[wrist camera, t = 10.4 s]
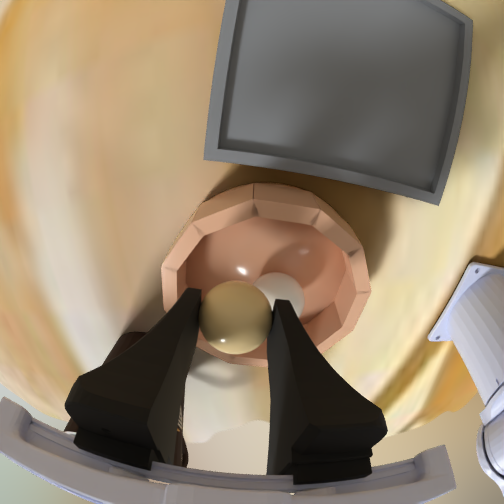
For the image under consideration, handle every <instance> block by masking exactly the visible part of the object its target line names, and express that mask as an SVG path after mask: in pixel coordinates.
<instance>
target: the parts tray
mask: <svg viewBox="0 0 504 504" xmlns="http://www.w3.org/2000/svg"><path fill="white" fill-rule="evenodd" d="M472 33H473V20H471V19H470V18H468V17H467V16H465V15H464V14H462V13H461V12H459V11H457V10H456V9H454V8H453V7H451V6H449V5H448V4H446V3H444V2H443V1H441V0H226V3H225V8H224V13H223V19H222V24H221V30H220V36H219V42H218V48H217V54H216V61H215V67H214V74H213V82H212V89H211V97H210V104H209V113H208V121H207V130H206V139H205V149H204V160H210V161H219V162H227V163H236V164H243V165H251V166H258V167H265V168H271V169H278V170H284V171H290V172H296V173H302V174H307V175H313V176H318V177H323V178H328V179H333V180H338V181H343V182H348V183H352V184H357V185H361V186H366V187H370V188H374V189H378V190H382V191H386V192H390V193H394V194H398V195H402V196H406V197H410V198H413V199H417V200H420V201H424V202H427V203H431V204H434V205H438V206H439V204H440V201H441V198H442V195H443V192H444V188H445V185H446V182H447V179H448V175H449V172H450V168H451V165H452V161H453V158H454V154H455V150H456V146H457V142H458V137H459V133H460V128H461V124H462V119H463V113H464V108H465V102H466V96H467V89H468V82H469V74H470V64H471V52H472Z"/></svg>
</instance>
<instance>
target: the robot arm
mask: <svg viewBox="0 0 504 504" xmlns="http://www.w3.org/2000/svg"><path fill="white" fill-rule="evenodd" d="M201 294H202V289H196V288H189V287H188V288H186V289H185V291H184V292H183V294H182V295H181V296H180V298H179V299H178V300H177V301H176V303H175V304H174V305H173V306H172V308H171V309H170V310H169V311H168V312H167V313H166V315H165V316H164V317H163V318H162V319H161V320H160V321H159V322H158V323H157V324H156V325H155V326H154V327H153V328H152V329H151V330H150V331H149V332H148V333H147V334H146V335H145V336H143V337H142V338H141V339H140V340H139V341H137V342H136V343H135V344H134V345H132V346H131V347H130V348H128V349H127V350H126V351H124V352H123V353H121V354H120V355H118V356H117V357H115V358H113V359H112V360H110V361H108V362H107V363H105V364H103V365H102V366H100V367H98V368H96V369H94V370H92V371H90V372H87V373H85V374H83V375H81V376H79V377H78V378H77V380H76V382H75V383H74V385H73V387H72V388H71V391H70V393H69V395H68V397H67V400H66V402H65V409H66V411H67V413H68V414H69V415H70V417H71V418H72V419H73V420H74V422H75V423H76V424H77V425H78V430H77V432H76V435H75V437H74V436H72V435H70V434H67V433H65V432H62V431H60V430H58V429H56V428H53V427H51V426H49V425H47V424H45V423H43V422H40V421H39V420H37V419H35V418H33V417H32V416H31V414H30V413H29V412H28V411H27V410H26V409H24V408H23V407H22V406H20V405H18V404H17V403H15V402H13V401H11V400H10V399H8V398H6V397H3V398H2V400H1V402H0V453H2V454H3V455H5V456H6V457H7V458H9V459H10V460H11V461H13V462H14V463H16V464H18V465H19V466H21V467H22V468H24V469H26V470H27V471H29V472H31V473H33V474H35V475H36V476H38V477H40V478H42V479H43V480H45V481H47V482H49V483H51V484H53V485H55V486H57V487H59V488H61V489H63V490H65V491H67V492H70V493H72V494H74V495H76V496H78V497H81V498H83V499H86V500H88V501H90V502H93V503H96V504H424V503H426V502H428V501H431V500H433V499H435V498H437V497H440V496H442V495H444V494H446V493H448V492H450V491H452V490H454V489H456V483H455V479H454V475H453V471H452V467H451V464H450V460H449V457H448V453H447V450H446V447H445V445H440V446H437V447H434V448H431V449H427V450H425V451H423V452H421V453H419V454H417V455H416V456H415V457H414V458H411V459H407V460H403V461H399V462H395V463H390V464H385V465H380V466H375V467H371V463H370V457H371V456H372V455H373V453H372V449H371V448H372V447H373V446H374V445H375V444H377V443H378V442H379V441H380V440H382V438H383V437H384V436H385V435H386V434H387V431H388V430H387V426H386V421H385V418H384V415H383V413H382V410H381V409H380V408H379V407H377V406H376V405H375V404H373V403H372V402H370V401H369V400H367V399H366V398H365V397H363V396H362V395H361V394H360V393H358V392H357V391H356V390H355V389H354V388H352V387H351V386H350V385H349V384H348V383H347V382H346V381H345V380H344V379H343V378H342V377H341V376H340V375H339V374H338V373H337V372H336V371H335V370H334V369H333V368H332V367H331V365H330V364H329V363H328V362H327V361H326V359H325V358H324V357H323V356H322V354H321V353H320V352H319V350H318V349H317V347H316V346H315V344H314V343H313V341H312V340H311V338H310V337H309V335H308V333H307V332H306V330H305V328H304V327H303V325H302V323H301V321H300V320H299V318H298V316H297V314H296V312H295V310H294V308H293V306H292V304H291V302H290V301H289V300H283V299H275V302H274V306H273V310H272V313H273V322H272V327H271V330H270V333H269V335H268V337H267V361H268V373H269V384H270V398H271V405H270V434H269V450H268V463H267V474H266V475H249V474H248V475H247V474H234V473H222V472H213V471H205V470H198V469H191V468H185V467H179V466H174V465H173V463H174V453H175V444H176V436H177V428H178V421H179V414H180V408H181V402H182V396H183V390H184V386H185V382H186V378H187V375H188V371H189V368H190V364H191V361H192V358H193V354H194V351H195V347H196V344H197V339H198V334H199V328H200V326H199V320H198V316H199V309H200V305H201ZM428 339H429V341H453V342H454V344H455V346H456V348H457V350H458V352H459V353H460V355H461V357H462V359H463V361H464V363H465V365H466V367H467V369H468V371H469V373H470V375H471V377H472V379H473V381H474V383H475V385H476V387H477V389H478V391H479V394H480V396H481V398H482V400H483V402H484V405H485V407H486V408H485V409H484V410H483V411H482V412H481V413H480V417H481V419H482V424H481V425H480V427H479V430H478V433H477V445H476V448H477V456H478V460H479V463H480V465H481V467H482V469H483V471H484V472H485V473H486V474H487V475H488V476H489V477H490V478H491V479H493V480H494V481H495V482H496V483H497V484H498V486H499V487H500V489H501V491H502V493H503V496H504V268H502V267H497V266H492V265H487V264H482V263H477V262H472V263H470V264H469V265H468V267H467V269H466V271H465V273H464V275H463V277H462V279H461V281H460V283H459V285H458V286H457V288H456V290H455V292H454V294H453V296H452V297H451V299H450V301H449V303H448V304H447V306H446V308H445V309H444V311H443V313H442V315H441V316H440V318H439V319H438V321H437V323H436V324H435V326H434V327H433V329H432V330H431V332H430V334H429V335H428ZM147 478H148V479H153V480H157V481H162V482H166V483H171V484H169V485H167V484H160V483H154V482H149V480H148V479H147ZM289 493H295V494H294V495H290V494H289Z"/></svg>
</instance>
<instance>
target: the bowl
mask: <svg viewBox="0 0 504 504" xmlns="http://www.w3.org/2000/svg"><path fill="white" fill-rule="evenodd" d="M161 271H162V290H163V305H164V310H165V312H166V313H167V312H168V311H169V310H170V309H171V308H172V306H173V305H174V304H175V303H176V301H177V300H178V299H179V298H180V296H181V295H182V294H183V292H184V291H185V289H186V288H188V287H189V288H196V289H202V294H201V302H202V300H203V299H204V297H205V295H206V294H207V293H208V292H209V291H210V290H211V289H212V288H214V287H215V286H217V285H219V284H221V283H223V282H227V281H244V282H247V283H250V284H253V283H254V282H255V281H256V280H257V279H258V278H259V277H261V276H262V275H265V274H267V273H271V272H281V273H285V274H288V275H290V276H291V277H293V278H294V279H295V280H296V281H297V282H298V283H299V284H300V286H301V287H302V290H303V292H304V297H305V304H304V309H303V312H302V314H301V316H300V317H299V320H300V321H301V323H302V325H303V327H304V328H305V330H306V332H307V333H308V335H309V337H310V338H311V340H312V341H313V343H314V344H315V346H316V347H317V349H318V350H319V352H320V353H321V354H322V353H323V352H325V351H326V350H327V349H329V348H330V347H332V346H333V345H334V344H336V343H337V342H338V341H340V340H341V339H342V338H344V337H345V336H346V335H348V334H349V333H350V332H351V331H353V329H354V327H355V325H356V323H357V321H358V319H359V317H360V315H361V313H362V311H363V309H364V307H365V305H366V302H367V300H368V298H369V296H370V294H371V286H370V280H369V275H368V269H367V264H366V259H365V254H364V249H363V246H362V245H361V243H360V241H359V240H358V238H357V236H356V235H355V233H354V231H353V230H352V228H351V227H350V225H349V224H348V223H347V222H346V221H345V220H343V219H342V218H341V217H340V216H339V215H338V213H337V212H336V211H335V210H334V209H333V208H332V207H331V206H330V205H329V204H327V203H326V202H325V201H323V200H322V199H321V198H319V197H317V196H316V195H315V194H314V193H312V192H310V191H306V190H303V189H301V188H298V187H295V186H291V185H286V184H281V183H270V182H264V183H251V184H246V185H240V186H237V187H234V188H231V189H228V190H226V191H224V192H222V193H219V194H217V195H216V196H214V197H212V198H211V199H209V200H208V201H206V202H203V203H201V204H200V206H199V207H198V208H197V210H196V211H195V212H194V214H193V215H192V216H191V217H190V218H189V220H188V221H187V223H186V225H185V226H184V228H183V229H182V231H181V232H180V234H179V235H178V236H177V238H176V239H175V241H174V242H173V244H172V246H171V248H170V250H169V252H168V254H167V256H166V257H165V259H164V261H163V263H162V266H161ZM196 347H198V348H200V349H202V350H203V351H205V352H207V353H209V354H211V355H213V356H215V357H217V358H219V359H221V360H223V361H226V362H228V363H232V364H241V365H250V366H261V367H268V361H267V338H266V339H265V341H264V342H263V343H262V344H261V345H260V346H259V347H257V348H256V349H254V350H252V351H250V352H247V353H243V354H228V353H225V352H222V351H219V350H217V349H216V348H214V347H213V346H212V345H211V344H209V343H208V341H207V340H206V339H205V338H204V336H203V334H202V332H201V330H200V328H199V334H198V339H197V344H196Z"/></svg>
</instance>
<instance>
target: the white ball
mask: <svg viewBox="0 0 504 504" xmlns="http://www.w3.org/2000/svg"><path fill="white" fill-rule="evenodd" d="M252 285H254V286H256V287H257V288H258V289H260V290H261V291H262V292H263V293H264V294H265V296H266V297H267V299H268V301H269V303H270V305H271V308H272V310H273V306H274V302H275V299H283V300H289V301H290V302H291V304H292V306H293V308H294V310H295V312H296V314H297V316H298V318H299V317H300V316H301V314H302V312H303V309H304V304H305V297H304V292H303V290H302V287H301V286H300V284H299V283H298V282H297V281H296V280H295V279H294V278H293V277H291V276H290V275H288V274H285V273H281V272H271V273H267V274H265V275H262V276H261V277H259V278H258V279H257V280H256V281H255V282H254V283H253V284H252Z"/></svg>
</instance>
